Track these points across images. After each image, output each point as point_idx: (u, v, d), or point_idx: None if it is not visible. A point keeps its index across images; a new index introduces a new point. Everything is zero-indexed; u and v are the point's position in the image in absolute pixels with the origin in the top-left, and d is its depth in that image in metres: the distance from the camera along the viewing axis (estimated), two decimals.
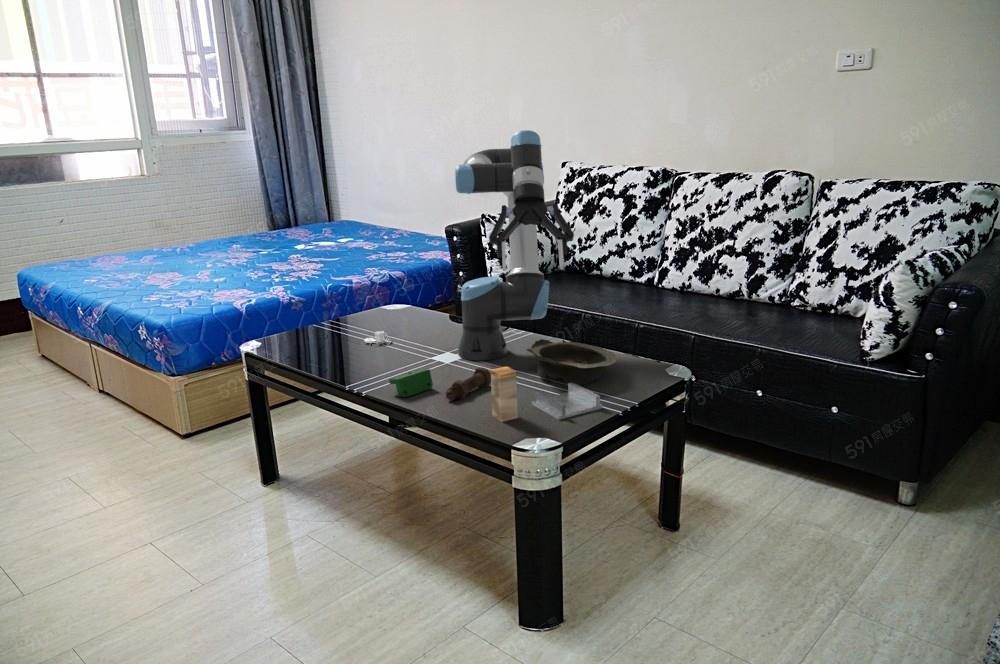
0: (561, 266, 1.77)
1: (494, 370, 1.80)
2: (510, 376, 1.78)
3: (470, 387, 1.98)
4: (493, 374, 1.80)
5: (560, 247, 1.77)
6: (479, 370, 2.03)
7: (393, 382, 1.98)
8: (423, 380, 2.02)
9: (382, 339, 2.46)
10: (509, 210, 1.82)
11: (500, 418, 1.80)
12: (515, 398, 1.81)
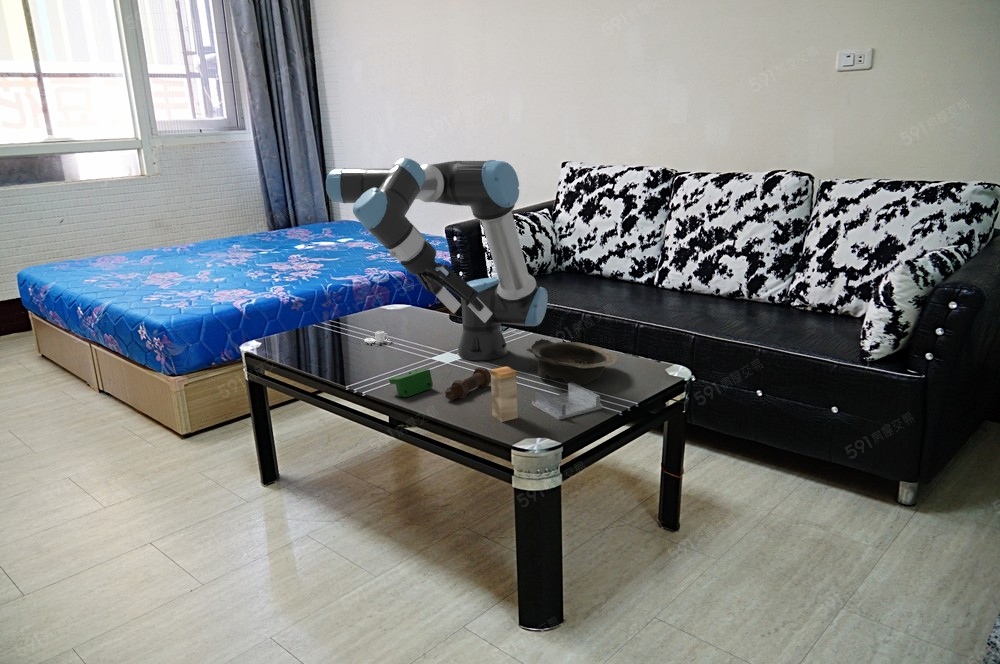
0: None
1: (494, 370, 1.80)
2: (510, 376, 1.78)
3: (470, 387, 1.98)
4: (493, 374, 1.80)
5: (472, 309, 1.63)
6: (479, 370, 2.03)
7: (393, 382, 1.98)
8: (423, 380, 2.02)
9: (382, 339, 2.46)
10: None
11: (500, 418, 1.80)
12: (515, 398, 1.81)
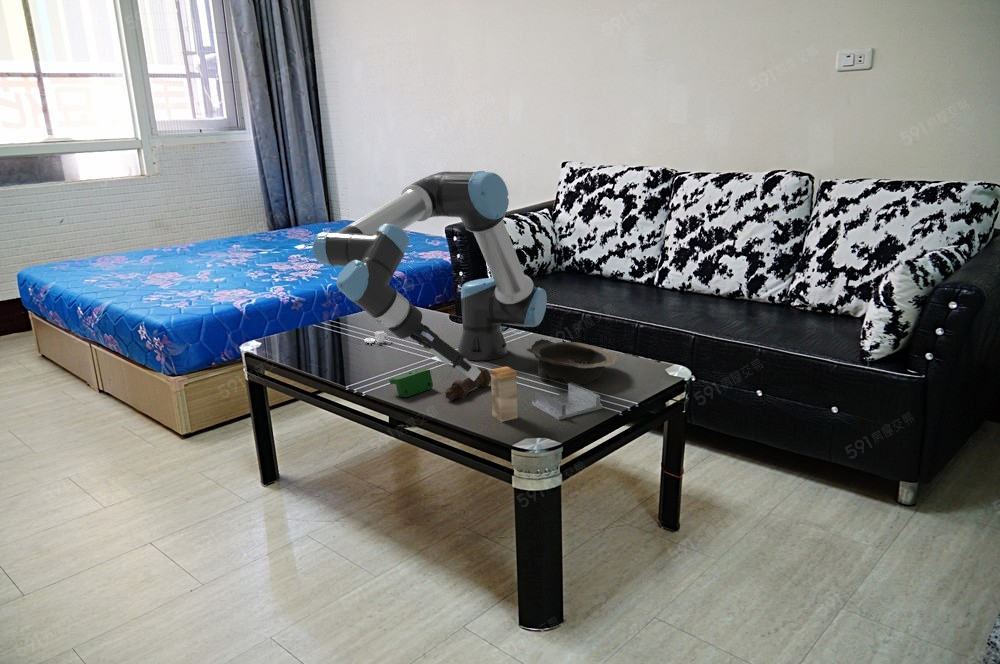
0: None
1: (494, 370, 1.80)
2: (510, 376, 1.78)
3: (470, 387, 1.98)
4: (493, 374, 1.80)
5: (460, 369, 1.66)
6: None
7: (393, 382, 1.98)
8: (423, 380, 2.02)
9: (382, 339, 2.46)
10: None
11: (500, 418, 1.80)
12: (515, 398, 1.81)
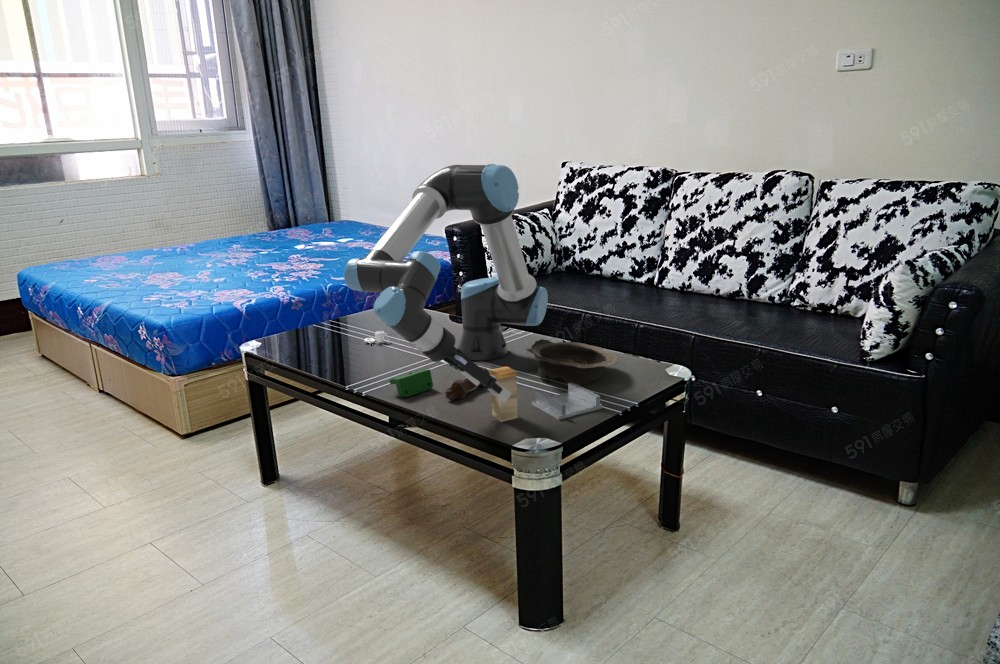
0: None
1: (494, 370, 1.80)
2: (510, 376, 1.78)
3: (470, 387, 1.98)
4: (493, 374, 1.80)
5: None
6: None
7: (393, 382, 1.98)
8: (424, 380, 2.02)
9: (382, 339, 2.46)
10: None
11: (500, 418, 1.80)
12: (515, 398, 1.81)
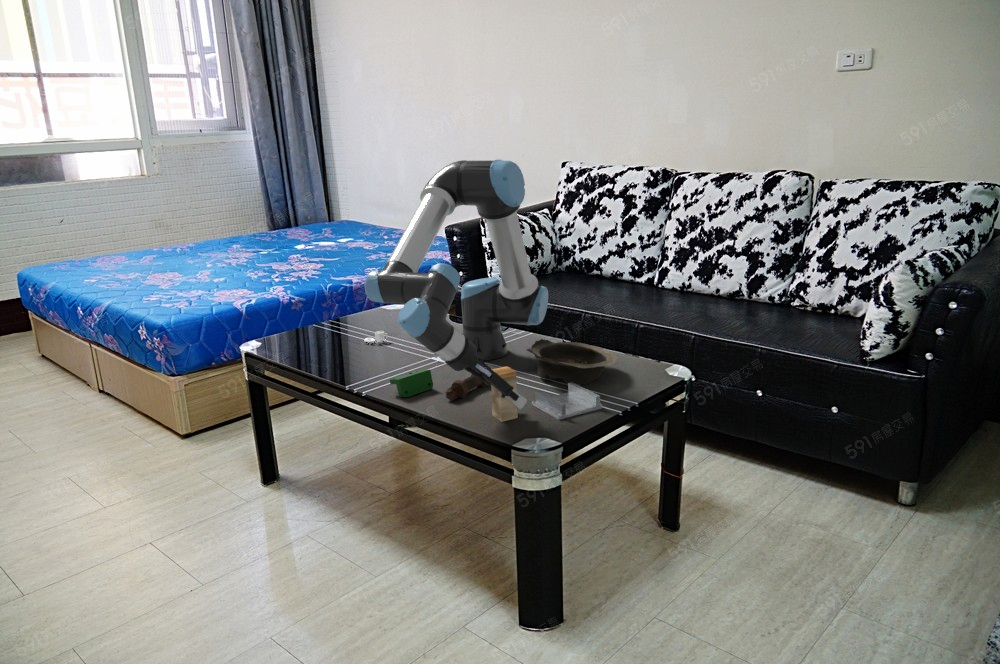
0: None
1: (494, 370, 1.80)
2: (510, 376, 1.78)
3: (469, 387, 1.98)
4: None
5: None
6: None
7: (394, 382, 1.98)
8: (424, 380, 2.01)
9: (382, 339, 2.46)
10: None
11: (500, 418, 1.80)
12: None
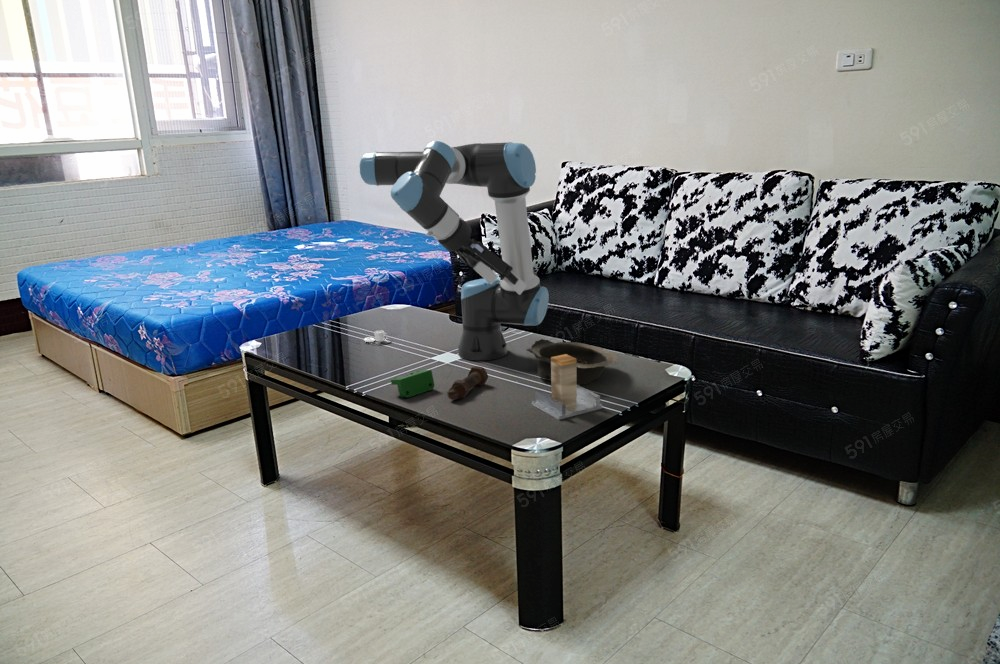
0: None
1: (554, 357, 1.85)
2: (570, 363, 1.83)
3: (470, 386, 1.99)
4: (554, 361, 1.84)
5: (507, 282, 1.72)
6: (475, 369, 2.04)
7: (395, 383, 1.98)
8: (425, 381, 2.01)
9: (381, 338, 2.47)
10: None
11: None
12: (575, 385, 1.85)
